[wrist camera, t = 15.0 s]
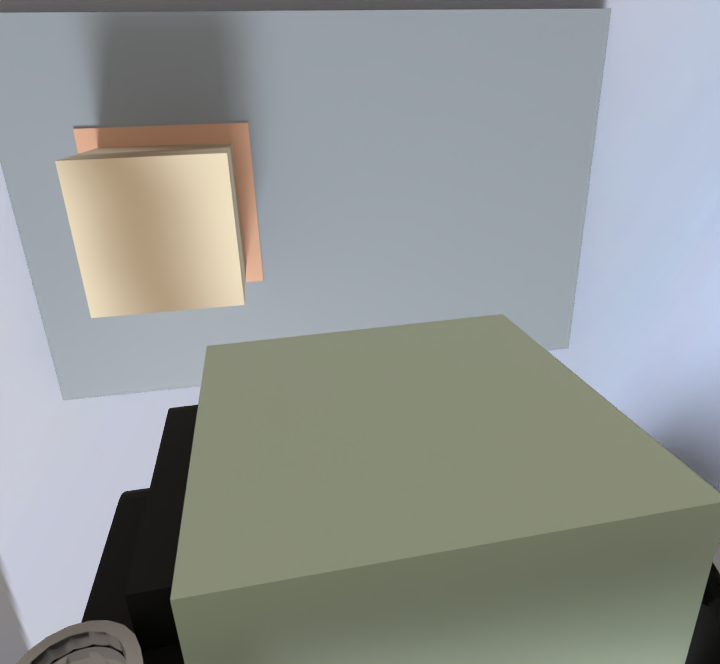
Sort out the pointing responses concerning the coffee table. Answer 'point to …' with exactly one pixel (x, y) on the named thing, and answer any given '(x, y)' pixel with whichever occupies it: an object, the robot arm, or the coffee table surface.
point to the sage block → (431, 508)
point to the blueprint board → (315, 167)
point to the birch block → (156, 227)
